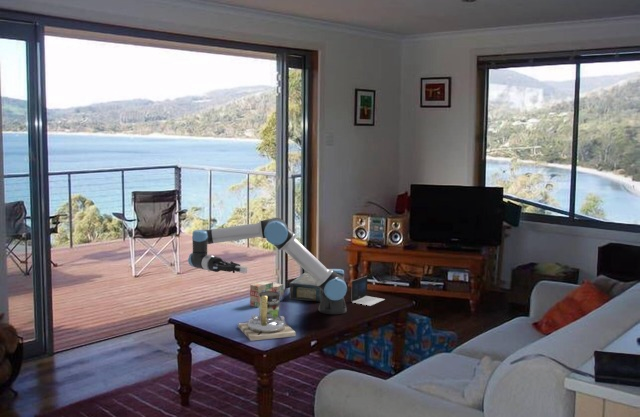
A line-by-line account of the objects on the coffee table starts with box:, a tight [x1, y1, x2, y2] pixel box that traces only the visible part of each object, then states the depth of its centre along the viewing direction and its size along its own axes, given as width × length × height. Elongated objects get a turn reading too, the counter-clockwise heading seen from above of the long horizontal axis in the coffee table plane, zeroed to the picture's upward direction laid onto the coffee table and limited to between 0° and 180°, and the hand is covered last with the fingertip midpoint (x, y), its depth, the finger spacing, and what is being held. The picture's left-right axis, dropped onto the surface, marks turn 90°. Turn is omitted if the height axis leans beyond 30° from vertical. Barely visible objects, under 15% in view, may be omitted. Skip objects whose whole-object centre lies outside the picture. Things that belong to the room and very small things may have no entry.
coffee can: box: [258, 291, 280, 317], centre depth 341 cm, size 10×10×14 cm
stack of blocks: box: [249, 280, 284, 308], centre depth 374 cm, size 21×6×12 cm, turn 143°
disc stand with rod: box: [247, 295, 286, 333], centre depth 321 cm, size 18×18×17 cm
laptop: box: [350, 275, 386, 307], centre depth 382 cm, size 18×12×13 cm
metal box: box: [288, 271, 322, 302], centre depth 396 cm, size 21×32×10 cm, turn 165°
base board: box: [238, 322, 296, 342], centre depth 322 cm, size 22×22×2 cm
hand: (245, 270), depth 320 cm, fingers closed
